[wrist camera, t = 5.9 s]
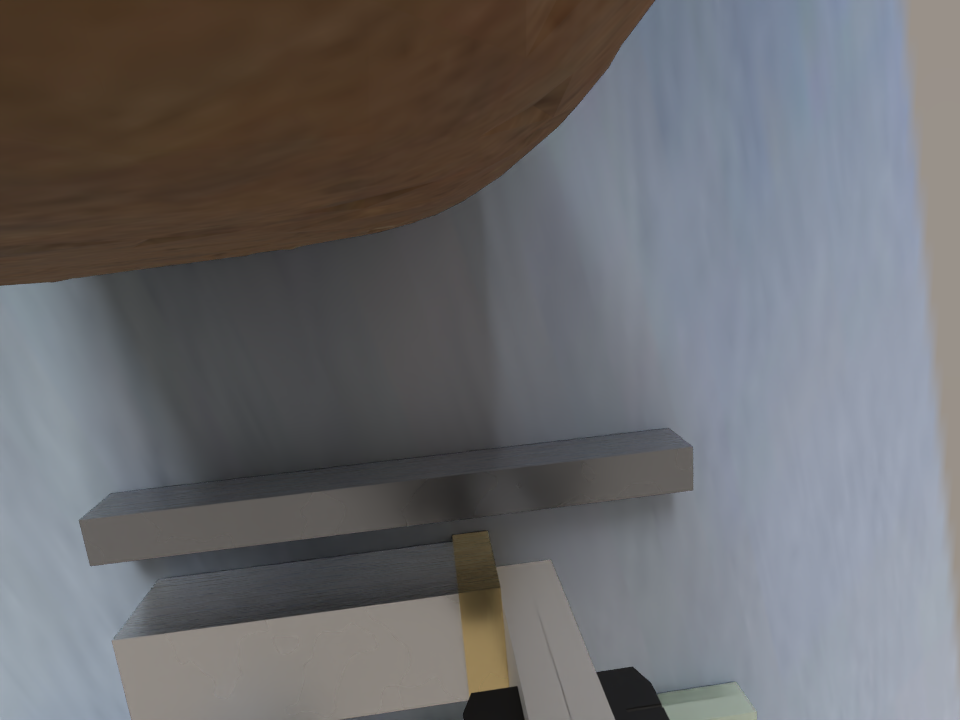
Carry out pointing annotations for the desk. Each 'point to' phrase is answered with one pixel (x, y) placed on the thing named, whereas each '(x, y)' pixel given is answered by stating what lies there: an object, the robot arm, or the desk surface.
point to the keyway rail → (384, 495)
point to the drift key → (319, 637)
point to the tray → (708, 703)
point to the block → (269, 119)
